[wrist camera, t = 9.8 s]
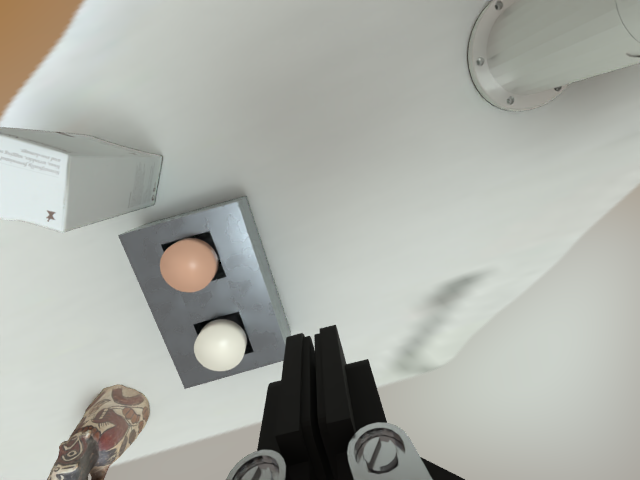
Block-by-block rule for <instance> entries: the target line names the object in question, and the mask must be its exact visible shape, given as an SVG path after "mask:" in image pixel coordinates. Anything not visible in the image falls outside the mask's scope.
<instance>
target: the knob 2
mask: <svg viewBox="0 0 640 480" xmlns="http://www.w3.org/2000/svg"><path fill="white" fill-rule="evenodd" d="M244 329H245V327H244V324H243V321H242V318H241V316H240V313H239V312H235V313H232V314H228V315H224V316H221V317H217V318H215V320H214V321H211V322H209V323H208V324H206V325H205V326H204V327H203V328H202V330H201V332H200V333H199V335H198V337H197V339H196V341H195V344H194V353H195V356H196V358H197V360H198V361H199V362H200V364H202V365H203V366H204V367H206V368H208V369H210V370H213V371H226V370H230V369H232V368H234V367H235V366H237V365H238V364H239V363H240V362H241V360H242V358H243V356H244V353H245V349H246V345H247V337H246V334H245V332H244Z"/></svg>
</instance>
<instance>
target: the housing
mask: <svg viewBox="0 0 640 480" xmlns="http://www.w3.org/2000/svg"><path fill="white" fill-rule="evenodd" d="M207 231H210V233H211V236H212V239H213V241H214V244H215V247H216V250H217V252H218V255H219V258H220V261H221V263H222V264H221V265H218V270H217V273H216V275H215V276H214V278H213V279H212V280H211V282H210V283H209V284H208V285H207V286H206V287H205V288H203V289H201V290H199V291H196V292H182V291H179V290H176V289H174V288H173V287H171V286H170V285H169V284H168V283H167V282H166V281H165V280H164V278H163V276H162V274H161V270H160V260H161V257H162V255H163V253H164V252H165V250H166V249H167V248H168V247H170V246H171V245H173V244H174V243H176V242H177V241H179V240H182V239H184V238H186V237H190V236H193V235H197V234H200V233H204V232H207ZM118 236H119V238H120V241H121V243H122V245H123V247H124V250H125V252H126V254H127V257H128V259H129V261H130V264H131V266H132V268H133V270H134V273H135V275H136V277H137V280H138V282H139V284H140V287H141V289H142V291H143V293H144V296H145V298H146V300H147V303H148V305H149V307H150V309H151V312H152V314H153V316H154V319H155V321H156V323H157V326H158V328H159V330H160V332H161V335H162V337H163V339H164V342H165V344H166V346H167V349H168V351H169V353H170V355H171V358H172V360H173V362H174V365H175V367H176V369H177V372H178V374H179V376H180V378H181V381H182V383H183V385H184V388H185V389H186V388H189V387H193V386H196V385H200V384H203V383H207V382H210V381H214V380H217V379H221V378H224V377H228V376H231V375H235V374H238V373H242V372H245V371H249V370H252V369H256V368H259V367H263V366H266V365H270V364H273V363H277V362H280V361H284V353H285V345H286V338H287V337H289V336H291V331H290V328H289V325H288V322H287V319H286V316H285V313H284V310H283V307H282V303H281V300H280V297H279V294H278V291H277V288H276V285H275V282H274V279H273V276H272V273H271V270H270V267H269V264H268V261H267V258H266V255H265V251H264V248H263V245H262V242H261V239H260V236H259V233H258V230H257V227H256V224H255V221H254V218H253V215H252V212H251V209H250V206H249V203H248V200H247V196H244V197H240V198H237V199H233V200H230V201H226V202H223V203H219V204H216V205H212V206H209V207H205V208H201V209H198V210H194V211H191V212H187V213H184V214H180V215H177V216H173V217H169V218H166V219H162V220H159V221H155V222H152V223H148V224H145V225H142V226H140V227H138V228H135V229H133V230H130V231H128V232H125V233H123V234H120V235H118ZM235 312H239V313H240V316H241V318H242V321H243V324H244V327H245V329H246V330H244V332H245V334H246V337H247V345H246V349H245V353H244V356H243V358H242V360H241V362H240V363H239V364H238V365H237V366H235V367H234V368H232V369H230V370H226V371H213V370H210V369H208V368H206V367H204V366H203V365H202V364H200V362H199V361H198V360H197V358H196V356H195V353H194V344H195V341H196V339H197V337H198V335H199V333H200V332H201V330H202V328H203V327H204V326H205V325H206V324H208V323H209V322H211V321H214V320H215V318H217V317H221V316H224V315H228V314H232V313H235Z"/></svg>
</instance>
